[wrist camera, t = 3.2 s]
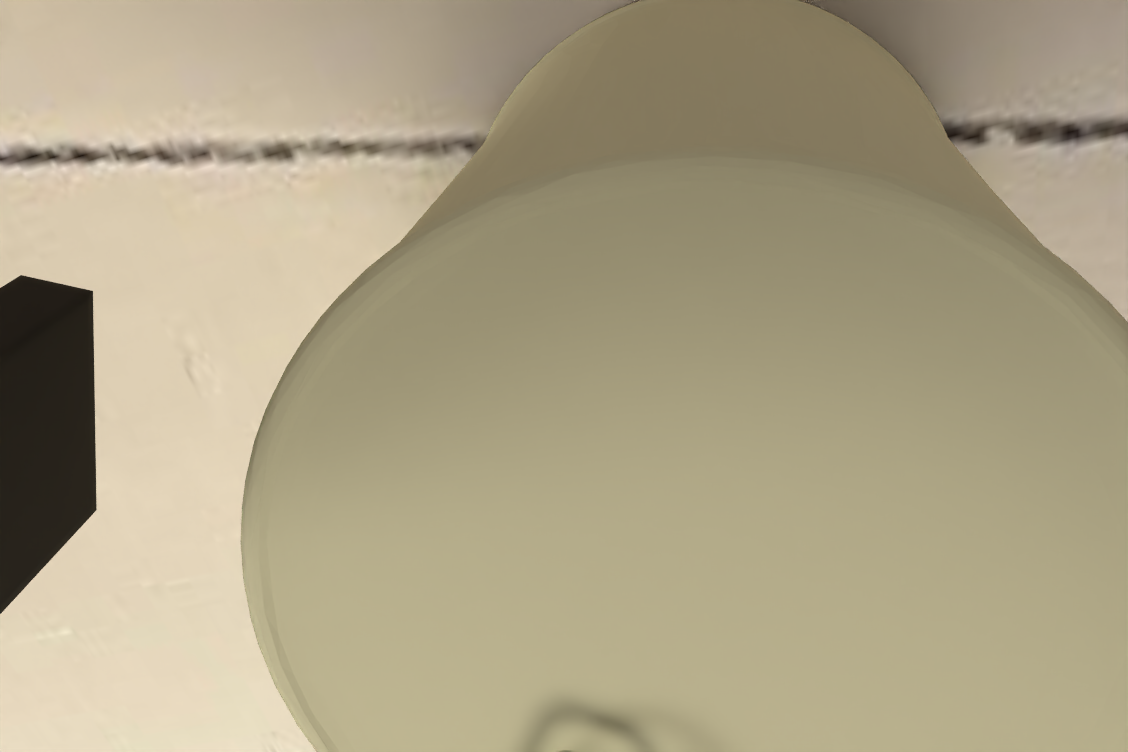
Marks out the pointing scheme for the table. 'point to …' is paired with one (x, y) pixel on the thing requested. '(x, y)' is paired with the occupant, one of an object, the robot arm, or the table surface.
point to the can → (703, 430)
